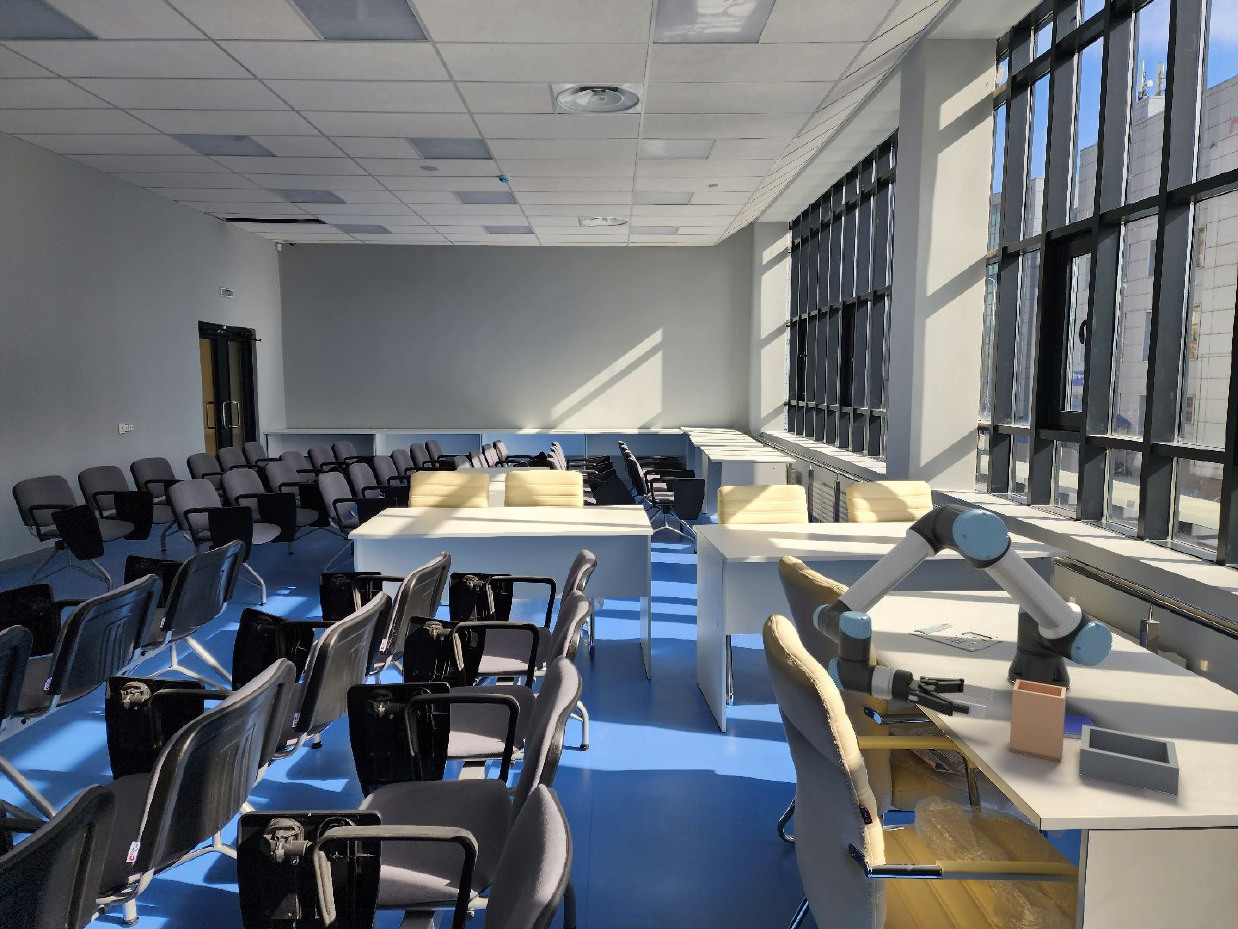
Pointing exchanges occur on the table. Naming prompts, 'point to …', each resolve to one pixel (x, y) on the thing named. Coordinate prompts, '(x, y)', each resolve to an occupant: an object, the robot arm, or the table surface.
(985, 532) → the robot arm
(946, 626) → the office telephone
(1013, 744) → the tall tapered brown container
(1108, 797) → the table surface
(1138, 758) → the tray
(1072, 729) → the hard drive
